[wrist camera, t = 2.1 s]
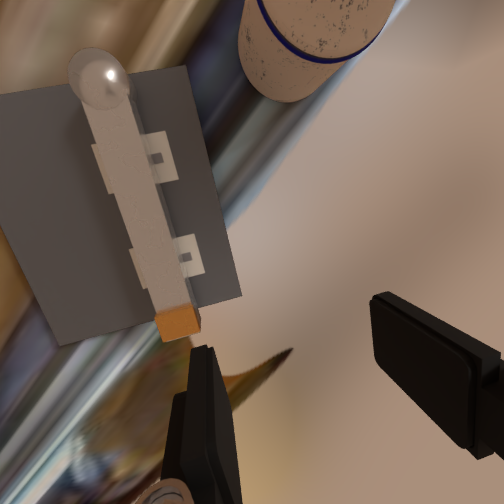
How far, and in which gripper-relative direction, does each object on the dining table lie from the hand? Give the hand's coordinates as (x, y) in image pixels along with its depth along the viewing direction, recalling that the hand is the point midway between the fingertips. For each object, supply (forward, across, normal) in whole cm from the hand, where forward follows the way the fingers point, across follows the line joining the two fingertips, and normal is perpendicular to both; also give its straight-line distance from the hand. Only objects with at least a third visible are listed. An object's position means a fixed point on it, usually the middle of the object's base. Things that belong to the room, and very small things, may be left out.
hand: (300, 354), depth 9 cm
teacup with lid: (+18, -7, -18) cm, 26 cm away
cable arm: (+15, +7, -6) cm, 18 cm away
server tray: (+18, +10, -6) cm, 21 cm away
